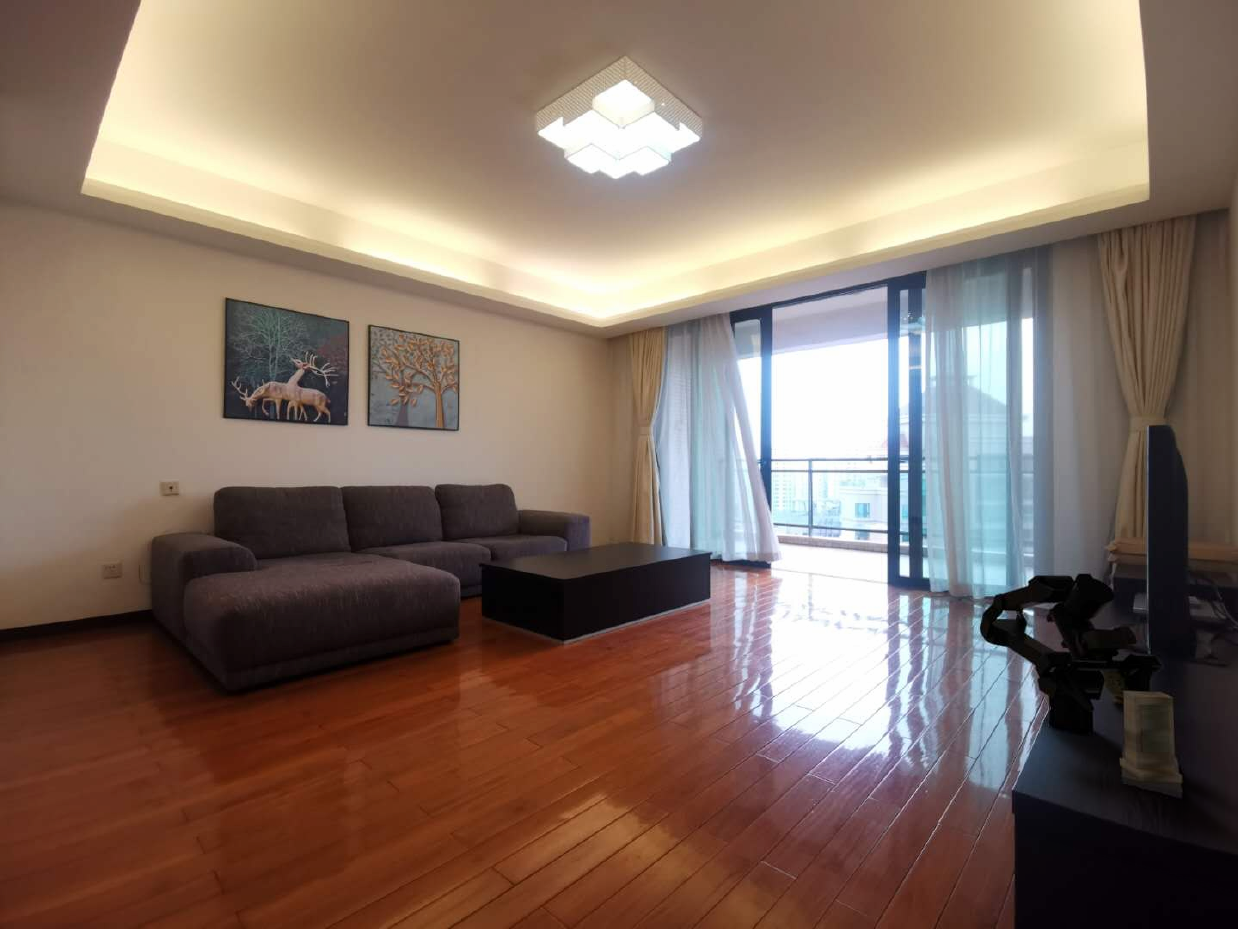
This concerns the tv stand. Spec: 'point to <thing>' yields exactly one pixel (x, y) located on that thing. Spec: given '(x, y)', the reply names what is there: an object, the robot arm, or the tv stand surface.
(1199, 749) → the tv stand surface
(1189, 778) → the tv stand surface
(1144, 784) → the slate tile
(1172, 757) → the tapered block
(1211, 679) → the tv stand surface
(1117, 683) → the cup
